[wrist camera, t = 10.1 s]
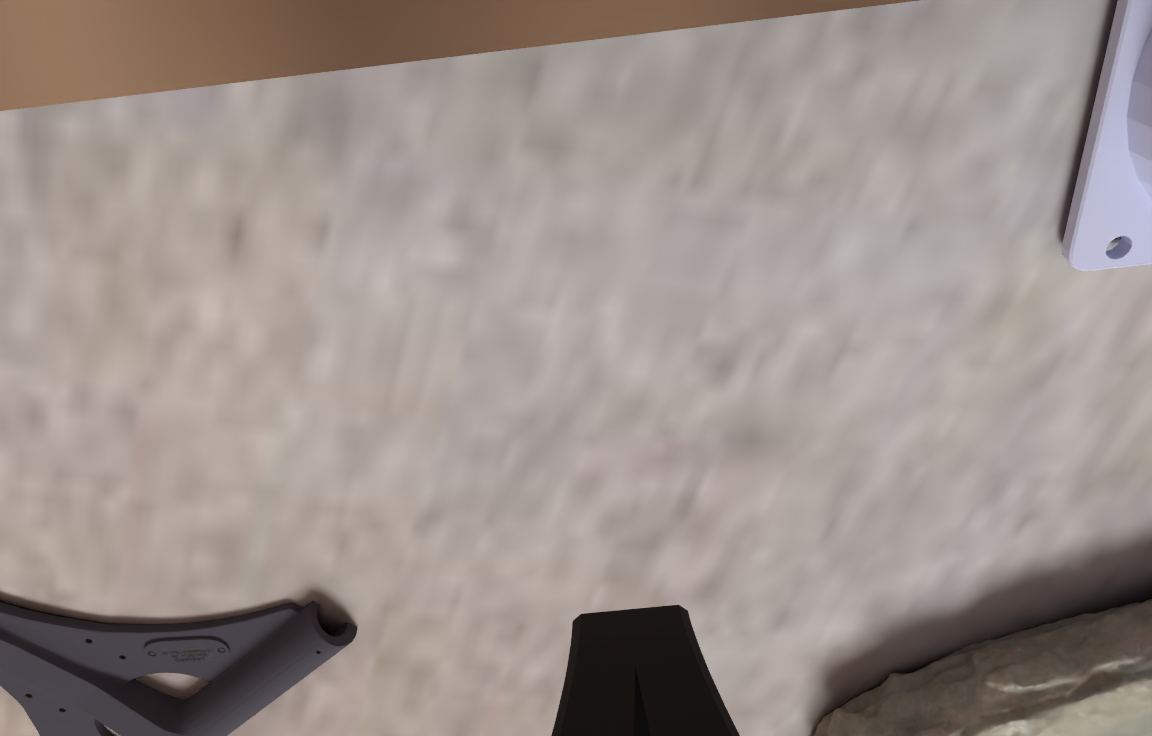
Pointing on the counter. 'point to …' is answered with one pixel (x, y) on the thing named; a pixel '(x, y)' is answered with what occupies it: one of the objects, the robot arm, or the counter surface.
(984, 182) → the counter surface
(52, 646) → the bracket
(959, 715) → the elongated rock
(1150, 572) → the counter surface
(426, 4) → the walnut shelf
